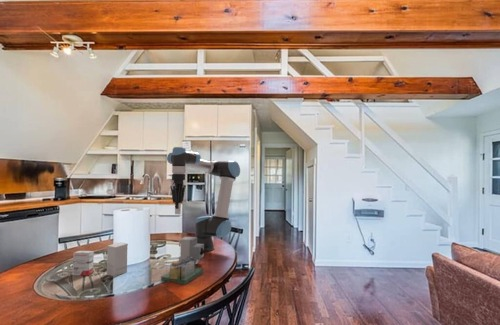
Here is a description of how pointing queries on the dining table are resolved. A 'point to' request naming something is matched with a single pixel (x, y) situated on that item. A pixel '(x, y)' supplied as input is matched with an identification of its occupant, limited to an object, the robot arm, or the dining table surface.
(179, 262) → the silver elongated bar
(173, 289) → the dining table surface
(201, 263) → the dining table surface
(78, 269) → the ink box
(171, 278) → the circuit board
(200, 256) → the circuit breaker
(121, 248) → the skincare box
